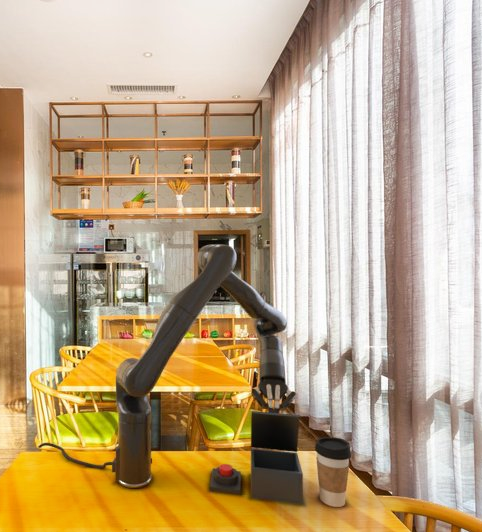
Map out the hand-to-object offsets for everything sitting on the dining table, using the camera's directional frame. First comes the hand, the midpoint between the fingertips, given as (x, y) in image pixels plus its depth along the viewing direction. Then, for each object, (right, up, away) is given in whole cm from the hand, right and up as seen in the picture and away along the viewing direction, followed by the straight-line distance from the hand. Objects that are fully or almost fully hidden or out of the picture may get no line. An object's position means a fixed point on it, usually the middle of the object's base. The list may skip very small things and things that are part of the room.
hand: (274, 423), depth 110 cm
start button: (-13, -14, 0) cm, 19 cm away
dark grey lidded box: (-1, -16, -3) cm, 17 cm away
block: (-13, -16, 0) cm, 21 cm away
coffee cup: (+12, -17, -8) cm, 22 cm away
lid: (0, -3, 0) cm, 3 cm away
